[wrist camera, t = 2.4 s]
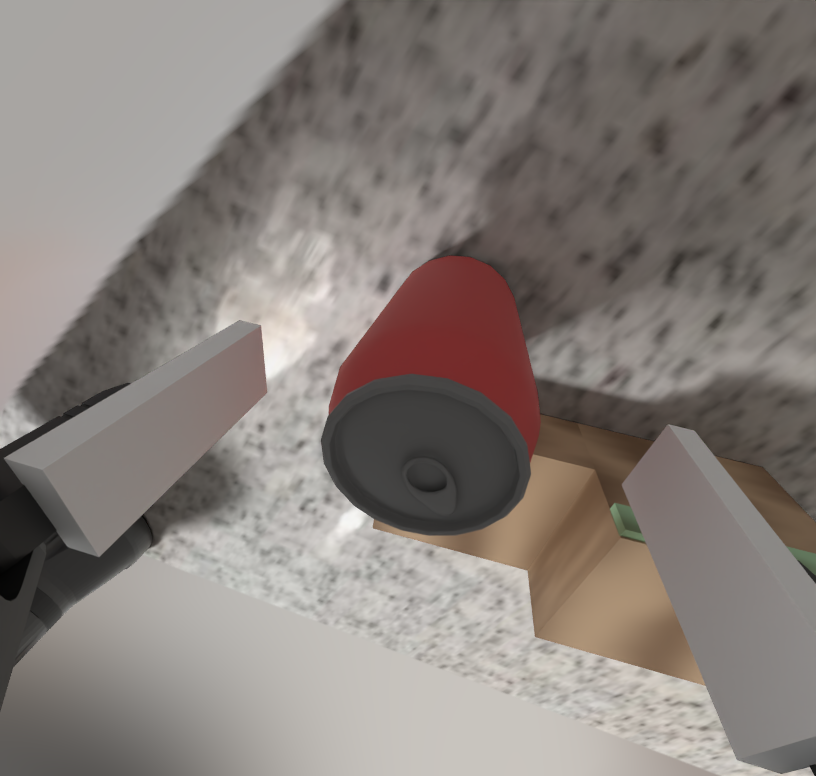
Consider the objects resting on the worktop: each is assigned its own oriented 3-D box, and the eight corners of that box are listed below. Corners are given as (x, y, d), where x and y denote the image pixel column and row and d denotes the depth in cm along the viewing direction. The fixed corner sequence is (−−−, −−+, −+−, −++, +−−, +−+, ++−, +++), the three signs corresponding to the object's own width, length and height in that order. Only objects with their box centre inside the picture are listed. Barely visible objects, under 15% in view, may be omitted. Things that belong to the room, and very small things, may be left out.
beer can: (423, 380, 21) (370, 557, 11) (376, 282, 19) (253, 403, 9) (529, 348, 19) (580, 537, 9) (493, 230, 16) (509, 315, 6)
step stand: (386, 485, 27) (354, 585, 21) (406, 375, 22) (371, 465, 15) (672, 560, 26) (738, 695, 19) (776, 464, 20) (923, 608, 13)
